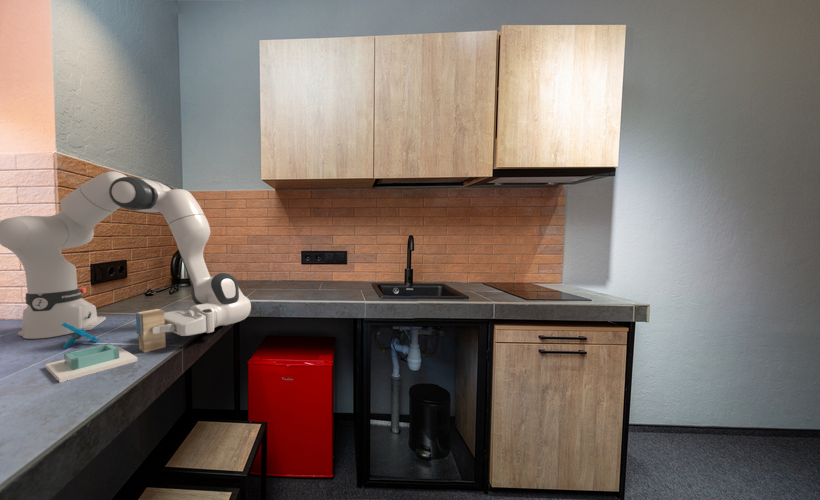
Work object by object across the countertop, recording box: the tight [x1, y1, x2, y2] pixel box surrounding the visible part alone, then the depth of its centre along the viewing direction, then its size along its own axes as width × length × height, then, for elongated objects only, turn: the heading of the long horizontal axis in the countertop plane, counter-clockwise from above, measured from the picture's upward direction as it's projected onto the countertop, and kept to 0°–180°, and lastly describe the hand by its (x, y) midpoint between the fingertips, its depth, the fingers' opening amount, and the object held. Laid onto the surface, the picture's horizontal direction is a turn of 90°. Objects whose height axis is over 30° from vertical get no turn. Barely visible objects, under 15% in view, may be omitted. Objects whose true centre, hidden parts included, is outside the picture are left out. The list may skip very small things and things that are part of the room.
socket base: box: [44, 342, 139, 384], centre depth 80 cm, size 14×14×4 cm
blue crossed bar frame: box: [62, 323, 100, 349], centre depth 93 cm, size 11×6×10 cm
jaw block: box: [135, 308, 167, 353], centre depth 91 cm, size 4×6×11 cm
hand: (147, 329), depth 90 cm, fingers closed on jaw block, 4 cm apart
